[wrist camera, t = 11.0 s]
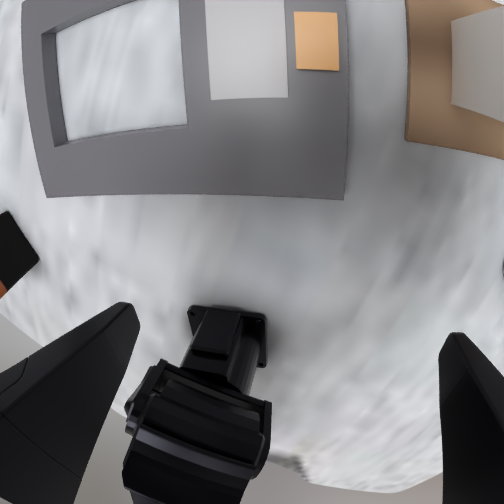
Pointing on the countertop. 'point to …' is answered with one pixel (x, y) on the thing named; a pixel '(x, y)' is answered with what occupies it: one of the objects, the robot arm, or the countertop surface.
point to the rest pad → (443, 81)
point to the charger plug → (479, 63)
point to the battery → (13, 254)
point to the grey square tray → (209, 105)
